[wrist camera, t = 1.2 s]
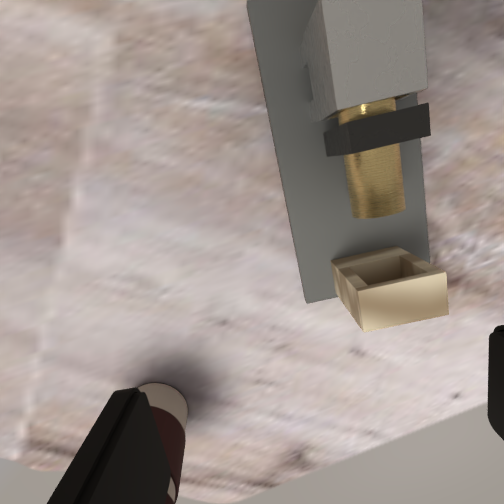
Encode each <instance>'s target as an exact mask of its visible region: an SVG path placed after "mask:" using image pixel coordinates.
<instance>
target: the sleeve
mask: <svg viewBox="0 0 504 504" xmlns="http://www.w3.org/2000/svg"><path fill="white" fill-rule="evenodd" d="M303 37H304V39H303V41H302V43H301V45H300V48H299V49H300V55H301V61H302V67H303V69H304V68H309V75H310V81H311V87H312V93H313V100H312V101H311V102H310V103H309V110H310V116H311V122H316V121H317V122H321V121H325V120H329V119H334V118H338V115H337V113H339V112H340V111H342V110H344V109H348V108H352V107H356V106H360V105H364V104H368V103H373V102H377V101H381V100H385V99H389V98H393V97H395V102H397V101H399V100H401V99H404V98H406V97H408V96H411V95H413V94H415V93H418V92H420V91H422V90H425V89H427V88H428V81H427V66H426V51H425V37H424V22H423V8H422V0H318V2H317V4H316V6H315V8H314V11H313V13H312V15H311V18H310V20H309V22H308V25H307V27H306V29H305V32H304V34H303Z"/></svg>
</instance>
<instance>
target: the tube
mask: <svg viewBox="0 0 504 504" xmlns="http://www.w3.org/2000/svg"><path fill="white" fill-rule="evenodd" d="M337 115H338V122H339V126H337V127H335V128H333V129H331V130H328V131H326V132H324V133H323V136H324V143H325V149H326V155H327V157H331V156H340V155H343V156H344V163H345V170H346V177H347V184H348V191H349V198H350V205H351V212H352V217H354V218H358V219H369V218H379V217H385V216H389V215H393V214H397V213H400V212H402V211H404V210H405V209H406V208H405V197H404V187H403V176H402V166H401V155H400V145H399V143H401V142H405V141H410V140H414V139H418V138H422V137H426V136H431V132H430V118H429V103H425V104H421V105H417V106H412V107H408V108H404V109H400V110H396V103H395V97H393V98H389V99H385V100H381V101H377V102H373V103H368V104H364V105H360V106H356V107H352V108H348V109H344V110H342V111H340V112H339V113H337Z"/></svg>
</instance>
